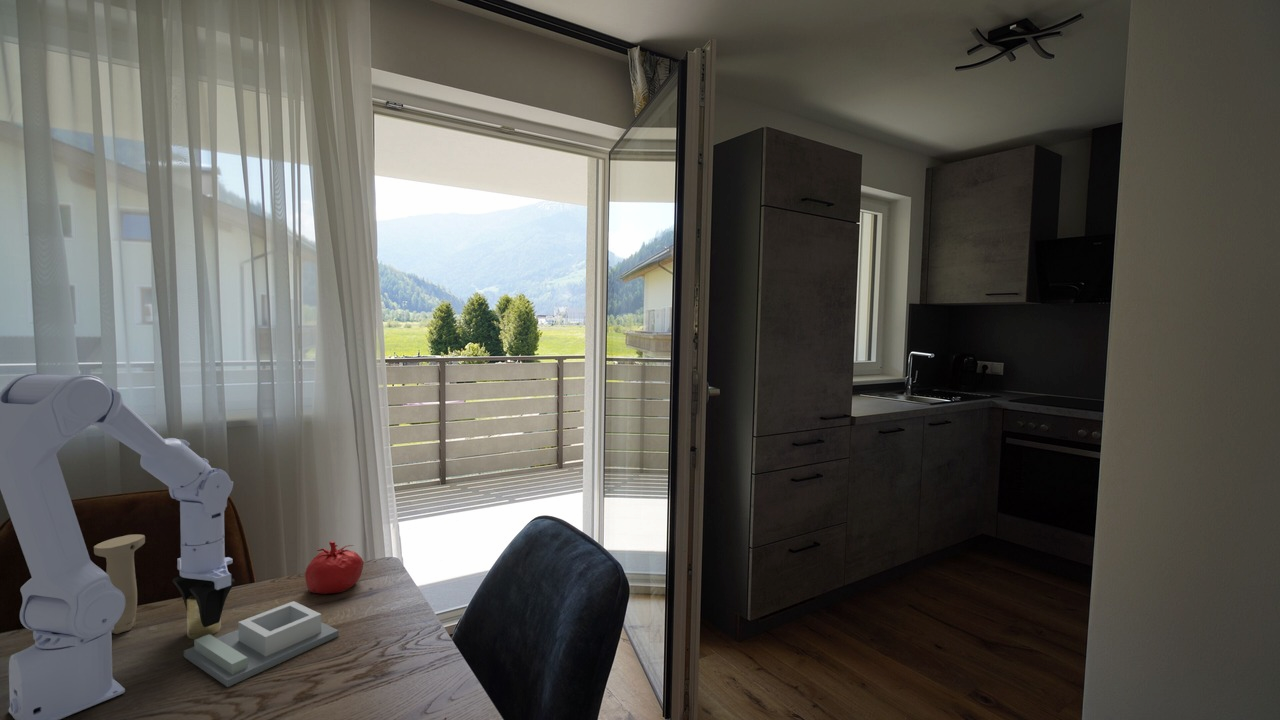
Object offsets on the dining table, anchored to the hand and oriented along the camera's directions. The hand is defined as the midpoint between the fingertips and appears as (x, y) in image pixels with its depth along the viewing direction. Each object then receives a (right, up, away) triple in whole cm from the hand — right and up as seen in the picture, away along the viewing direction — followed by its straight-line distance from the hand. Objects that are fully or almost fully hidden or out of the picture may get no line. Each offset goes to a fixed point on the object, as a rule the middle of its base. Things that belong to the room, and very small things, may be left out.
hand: (204, 620), depth 93 cm
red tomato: (+13, -2, +17) cm, 21 cm away
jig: (+13, -2, -4) cm, 13 cm away
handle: (-14, -2, 0) cm, 14 cm away
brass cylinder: (0, -2, 0) cm, 2 cm away
